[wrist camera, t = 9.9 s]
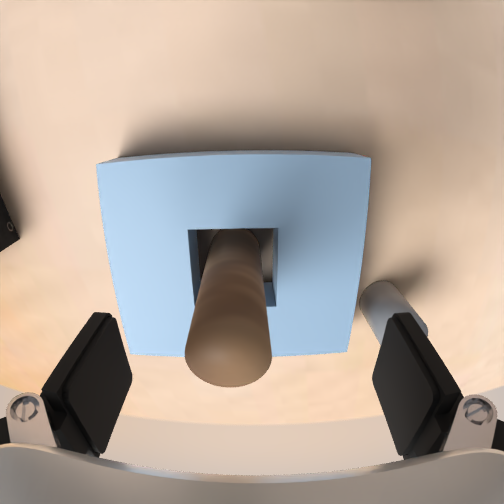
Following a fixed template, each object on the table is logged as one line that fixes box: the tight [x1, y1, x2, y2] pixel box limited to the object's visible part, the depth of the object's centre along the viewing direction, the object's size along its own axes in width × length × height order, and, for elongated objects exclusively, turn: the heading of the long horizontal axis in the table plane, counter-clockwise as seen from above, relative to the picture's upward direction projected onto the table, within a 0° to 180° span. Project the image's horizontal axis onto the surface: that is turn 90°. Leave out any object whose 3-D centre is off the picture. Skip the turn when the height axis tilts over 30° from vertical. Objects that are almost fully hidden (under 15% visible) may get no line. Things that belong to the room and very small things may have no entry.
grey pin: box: [359, 281, 428, 345], centre depth 19 cm, size 3×3×5 cm
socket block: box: [96, 150, 371, 357], centre depth 18 cm, size 14×12×3 cm
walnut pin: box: [185, 228, 272, 387], centre depth 15 cm, size 3×3×10 cm
